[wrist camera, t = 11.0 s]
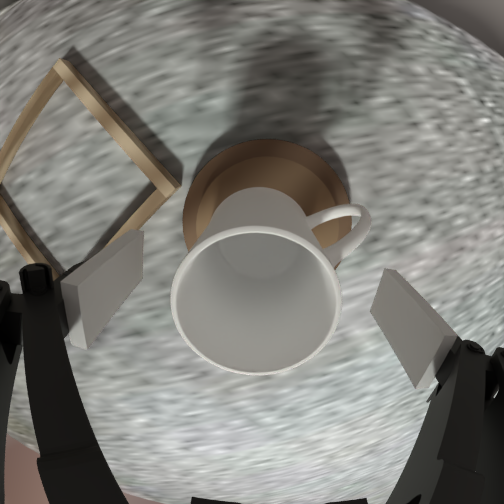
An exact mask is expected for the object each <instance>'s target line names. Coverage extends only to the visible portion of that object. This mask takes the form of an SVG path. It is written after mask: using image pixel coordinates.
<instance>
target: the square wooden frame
mask: <svg viewBox="0 0 504 504" xmlns="http://www.w3.org/2000/svg"><path fill="white" fill-rule="evenodd" d="M63 80H64V81H65V82H66V84H67V85H68V86H69V87H70V88H71V90H72V91H73V92H74V93H75V94H76V96H77V97H78V98H79V99H80V100H81V102H82V103H83V104H84V105H85V106H86V107H87V109H88V110H89V111H90V112H91V113H92V114H93V116H94V117H95V118H96V119H97V120H98V121H99V123H100V124H101V125H102V126H103V127H104V128H105V130H106V131H107V132H108V133H109V134H110V135H111V136H112V138H113V139H114V140H115V141H116V142H117V143H118V144H119V146H120V147H121V148H122V149H123V150H124V151H125V152H126V154H127V155H128V156H129V157H130V158H131V159H132V160H133V162H134V163H135V164H136V165H137V166H138V167H139V168H140V169H141V171H142V172H143V173H144V174H145V175H146V176H147V177H148V178H149V179H150V181H151V182H152V183H153V184H154V185H155V186H156V187H157V189H156V190H155V191H154V192H153V193H152V194H151V195H150V196H149V198H148V199H147V200H146V201H145V202H144V203H143V204H142V205H141V206H140V207H139V208H138V209H137V210H136V212H135V213H134V214H133V215H132V216H131V217H130V218H129V219H128V220H127V222H126V223H125V224H124V225H123V226H122V227H121V228H120V230H119V231H118V232H117V233H116V234H115V235H114V236H113V238H112V239H111V240H110V241H109V242H108V244H107V245H106V246H108V245H109V244H111V243H112V242H113V241H115V240H116V239H118V238H119V237H120V236H122V235H123V234H125V233H126V232H128V231H129V230H130V229H133V230H139V229H140V228H141V227H142V226H143V225H144V224H145V222H146V221H147V220H148V219H149V218H150V217H151V216H152V215H153V214H154V213H155V212H156V211H157V210H158V209H159V208H160V207H161V206H162V205H163V204H164V203H165V202H166V201H167V200H168V199H169V198H170V197H171V196H172V195H173V194H174V193H175V192H176V191H177V190H178V189H179V188H180V187H181V185H180V184H179V183H178V182H177V181H176V180H175V178H174V177H173V176H172V175H171V174H170V173H169V172H168V171H167V170H166V169H165V167H164V166H163V165H162V164H161V163H160V162H159V161H158V160H157V159H156V158H155V156H154V155H153V154H152V153H151V152H150V151H149V150H148V149H147V148H146V146H145V145H144V144H143V143H142V142H141V141H140V140H139V139H138V138H137V137H136V135H135V134H134V133H133V132H132V131H131V130H130V129H129V128H128V127H127V125H126V124H125V123H124V122H123V121H122V120H121V119H120V118H119V117H118V115H117V114H116V113H115V112H114V111H113V110H112V109H111V108H110V107H109V105H108V104H107V103H106V102H105V101H104V100H103V99H102V98H101V96H100V95H99V94H98V93H97V92H96V91H95V90H94V89H93V87H92V86H91V85H90V84H89V83H88V82H87V81H86V80H85V79H84V77H83V76H82V75H81V74H80V73H79V72H78V71H77V70H76V68H75V67H74V66H73V65H72V64H71V63H70V62H69V61H66V60H63V59H60V58H59V60H58V61H57V62H56V63H55V65H54V66H53V67H52V69H51V70H50V71H49V72H48V74H47V75H46V77H45V78H44V79H43V81H42V82H41V84H40V85H39V86H38V88H37V89H36V91H35V92H34V94H33V95H32V97H31V98H30V100H29V101H28V103H27V105H26V106H25V108H24V109H23V111H22V113H21V114H20V116H19V118H18V119H17V121H16V123H15V125H14V126H13V128H12V130H11V132H10V134H9V135H8V137H7V139H6V141H5V143H4V145H3V147H2V149H1V151H0V184H1V182H2V180H3V178H4V176H5V174H6V172H7V170H8V168H9V166H10V164H11V162H12V160H13V158H14V156H15V154H16V152H17V150H18V149H19V147H20V145H21V143H22V142H23V140H24V138H25V136H26V135H27V133H28V131H29V130H30V128H31V126H32V125H33V123H34V122H35V120H36V118H37V117H38V115H39V114H40V112H41V111H42V109H43V108H44V106H45V105H46V103H47V102H48V101H49V99H50V98H51V96H52V95H53V94H54V92H55V91H56V89H57V88H58V87H59V85H60V84H61V83H62V82H63ZM0 224H1V226H2V227H3V229H4V230H5V232H6V233H7V235H8V236H9V238H10V239H11V241H12V242H13V244H14V245H15V247H16V248H17V249H18V251H19V252H20V254H21V255H22V256H23V258H24V259H25V260H26V262H27V263H28V264H32V263H46V264H48V265H50V263H49V262H48V261H47V260H46V258H45V257H44V256H43V255H42V253H41V252H40V251H39V249H38V248H37V247H36V245H35V244H34V243H33V241H32V240H31V239H30V237H29V236H28V235H27V233H26V232H25V230H24V229H23V228H22V226H21V225H20V223H19V222H18V220H17V219H16V217H15V216H14V215H13V213H12V212H11V210H10V208H9V207H8V205H7V204H6V202H5V201H4V199H3V198H2V196H1V194H0ZM106 246H105V247H106ZM105 247H104V248H105ZM104 248H103V249H104ZM50 266H51V265H50ZM51 268H52V276H53V281H54V280H55V279H57V278H58V277H59V276H60V275H59V274H58V273H57V272H56V271H55V269H54V268H53V267H52V266H51Z"/></svg>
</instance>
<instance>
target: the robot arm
mask: <svg viewBox="0 0 504 504" xmlns="http://www.w3.org/2000/svg"><path fill="white" fill-rule="evenodd" d="M143 240H144V231H140V230H133V229H130V230H129V231H128V232H126V233H125V234H123V235H122V236H120V237H119V238H118V239H116V240H115V241H113V242H112V243H111V244H109V245H108V246H106V247H105V248H104V249H102V250H101V251H100V252H98V253H97V254H96V255H94V256H93V257H92V258H90V259H89V260H88V261H86V262H81V263H79V264H76V265H74V266H72V267H71V268H70V269H68V271H66V272H64V273H63V275H61V276H59V277H58V278H57V279H55V280H54V281H53V276H52V268H51V266H50V265H48V264H46V263H32V264H29V265H26V266H24V267H23V268H21V269H20V271H19V275H20V281H21V286H22V291H23V294H14V293H11V292H10V287H9V284H8V283H7V282H6V281H1V280H0V504H4V461H5V444H6V433H7V424H8V416H9V409H10V402H11V396H12V391H13V386H14V381H15V376H16V371H17V367H18V362H19V358H20V354H21V350H22V347H23V351H24V364H25V374H26V383H27V391H28V397H29V404H30V410H31V415H32V420H33V425H34V430H35V434H36V438H37V443H38V447H39V451H40V458H37V466H38V471H39V474H40V477H41V480H42V484H43V487H44V490H45V493H46V495H47V498H48V501H49V504H129V503H128V501H127V500H126V498H125V496H124V495H123V493H122V491H121V489H120V487H119V485H118V483H117V482H116V480H115V478H114V476H113V474H112V472H111V470H110V468H109V466H108V464H107V462H106V460H105V458H104V455H103V453H102V451H101V449H100V447H99V444H98V442H97V440H96V437H95V435H94V432H93V430H92V428H91V425H90V422H89V420H88V417H87V415H86V412H85V409H84V406H83V403H82V401H81V398H80V395H79V392H78V389H77V385H76V382H75V379H74V376H73V372H72V369H71V365H70V362H69V358H68V354H67V350H66V346H65V342H64V338H65V337H66V336H67V334H68V333H69V336H70V340H71V345H74V346H77V347H80V348H83V349H86V350H88V349H89V347H90V346H91V345H92V343H93V342H94V341H95V339H96V338H97V336H98V335H99V334H100V332H101V331H102V330H103V328H104V327H105V326H106V325H107V323H108V322H109V321H110V319H111V318H112V317H113V315H114V314H115V313H116V312H117V310H118V309H119V308H120V306H121V305H122V304H123V303H124V301H125V300H126V299H127V298H128V296H129V295H130V294H131V292H132V291H133V290H134V289H135V288H136V286H137V285H138V284H139V283H140V281H141V280H142V279H143ZM370 312H371V314H372V315H373V317H374V319H375V320H376V322H377V324H378V325H379V327H380V328H381V330H382V332H383V333H384V335H385V337H386V338H387V340H388V342H389V344H390V345H391V347H392V349H393V350H394V352H395V354H396V355H397V357H398V359H399V361H400V362H401V364H402V366H403V368H404V369H405V371H406V373H407V375H408V377H409V378H410V380H411V382H412V384H413V386H414V388H415V389H421V388H429V386H430V385H431V383H432V381H433V380H434V378H435V377H436V379H437V380H438V382H439V383H438V384H437V386H436V388H435V389H434V391H433V392H432V394H431V395H430V397H429V398H428V400H427V401H426V402H429V401H430V400H431V402H430V405H429V408H428V411H427V414H426V417H425V419H424V422H423V425H422V428H421V430H420V433H419V435H418V438H417V440H416V443H415V445H414V448H413V450H412V452H411V455H410V457H409V459H408V461H407V463H406V466H405V468H404V470H403V472H402V474H401V476H400V478H399V480H398V482H397V484H396V486H395V488H394V490H393V492H392V493H391V495H390V497H389V499H388V501H387V502H386V504H504V348H502V347H498V348H496V350H495V352H494V354H493V355H492V356H488V355H485V351H484V349H483V348H482V347H481V346H480V345H479V344H477V343H476V342H473V341H470V340H463V341H462V340H461V339H460V337H459V336H458V335H457V334H456V333H455V332H454V331H453V329H452V328H451V327H450V326H449V325H448V324H447V323H446V322H445V321H444V319H443V318H442V317H441V316H440V315H439V314H438V313H437V312H436V311H435V310H434V309H433V308H432V307H431V306H430V304H429V303H428V302H427V301H426V300H425V299H424V298H423V297H422V296H421V295H420V294H419V293H418V292H417V291H416V290H415V289H414V288H413V287H412V286H411V285H410V284H409V283H408V282H407V281H406V280H405V279H404V278H403V277H402V276H401V275H400V274H399V273H398V272H397V271H396V270H392V269H386V268H384V271H383V275H382V278H381V281H380V284H379V287H378V290H377V293H376V296H375V298H374V301H373V304H372V307H371V310H370ZM497 391H498V393H497ZM496 393H497V395H496V397H495V398H494V395H495V394H496ZM475 471H476V472H475ZM191 504H241V503H236V502H226V501H217V500H210V499H203V498H197V497H192V499H191ZM326 504H368V503H367V498H363V499H356V500H349V501H340V502H330V503H326Z"/></svg>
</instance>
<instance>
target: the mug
mask: <svg viewBox="0 0 504 504" xmlns="http://www.w3.org/2000/svg"><path fill="white" fill-rule="evenodd" d="M350 215H356V216H361V218H360V220H359V222H358V223H357V225H356V226H355V227H354V228H353V229H352V230H351V231H350V232H349V233H348V234H347V235H346V236H344V237H343V238H342V239H340V240H339V241H337V242H336V243H334V244H332V245H331V246H328V247H326V248H324V249H322V247H321V245H320V244H319V242H318V240H317V239H316V237H315V235H314V234H313V232H312V230H311V229H313V228H314V227H315V226H317V225H319V224H321V223H323V222H326V221H329V220H331V219H335V218H338V217H343V216H350ZM370 228H371V216H370V214H369V212H368V210H367V209H366V208H365V207H363V206H362V205H359V204H343V205H338V206H334V207H331V208H328V209H325V210H322V211H320V212H317V213H315V214H312V215H310V216H307V217H306V215H305V213H304V212H303V210H302V209H301V207H300V206H299V205H298V204H297V203H296V202H295V201H294V200H293V199H292V198H291V197H289V196H288V195H286V194H284V193H283V192H280V191H278V190H275V189H271V188H266V187H252V188H247V189H243V190H240V191H238V192H236V193H234V194H232V195H230V196H229V197H227V198H226V199H225V200H224V201H223V202H222V203H221V204H220V205H219V206H218V207H217V209H216V210H215V212H214V214H213V216H212V218H211V220H210V223H209V225H208V226H207V227H206V229H205V230H204V231H203V233H202V234H201V236H200V237H199V238H198V240H197V241H196V242H195V244H194V245H193V247H192V248H191V249H190V251H189V252H188V254H187V255H186V256H185V258H184V259H183V261H182V262H181V264H180V266H179V268H178V270H177V272H176V274H175V277H174V280H173V283H172V288H171V310H172V315H173V319H174V322H175V324H176V327H177V329H178V331H179V333H180V334H181V336H182V337H183V339H184V340H185V342H186V343H187V344H188V345H189V346H190V347H191V349H192V350H193V351H195V352H196V353H197V354H198V355H199V356H201V357H202V358H203V359H205V360H206V361H208V362H209V363H211V364H213V365H215V366H217V367H219V368H222V369H224V370H227V371H231V372H234V373H239V374H245V375H269V374H275V373H280V372H284V371H287V370H290V369H292V368H295V367H297V366H299V365H301V364H303V363H305V362H306V361H308V360H309V359H311V358H312V357H313V356H315V355H316V354H317V353H318V352H319V351H320V350H321V349H322V348H323V347H324V346H325V345H326V344H327V342H328V341H329V340H330V338H331V337H332V335H333V333H334V331H335V329H336V327H337V325H338V322H339V319H340V315H341V309H342V293H341V287H340V283H339V279H338V277H337V274H336V272H335V270H334V267H335V266H336V265H337V264H338V263H339V262H340V261H341V260H343V259H344V258H345V257H346V256H348V255H349V254H350V253H351V252H352V251H354V250H355V249H356V248H357V247H358V246H359V245H360V244H361V243H362V241H363V240H364V239H365V237H366V236H367V234H368V233H369V230H370Z"/></svg>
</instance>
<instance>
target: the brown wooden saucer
mask: <svg viewBox="0 0 504 504" xmlns="http://www.w3.org/2000/svg"><path fill="white" fill-rule="evenodd" d="M252 187H266V188H271V189H275V190H278V191H280V192H283V193H284V194H286V195H288V196H289V197H291V198H292V199H293V200H294V201H295V202H296V203H297V204H298V205H299V206H300V207H301V209H302V210H303V212H304V213H305V215H306V217H307V216H310V215H312V214H315V213H317V212H320V211H322V210H325V209H328V208H331V207H334V206H338V205H343V204H350V203H349V199H348V196H347V193H346V190H345V188H344V186H343V184H342V182H341V180H340V179H339V177H338V176H337V174H336V173H335V171H334V170H333V169H332V168H331V167H330V166H329V165H328V164H327V163H326V162H325V161H324V160H323V159H322V158H320V157H319V156H318V155H316V154H315V153H313V152H312V151H310V150H309V149H306V148H304V147H302V146H300V145H298V144H294V143H291V142H288V141H282V140H276V139H259V140H251V141H247V142H243V143H240V144H237V145H235V146H232V147H230V148H228V149H226V150H224V151H223V152H221V153H219V154H218V155H217V156H215V157H214V158H213V159H212V160H210V161H209V162H208V163H207V164H206V165H205V166H204V167H203V168H202V169H201V171H200V172H199V174H198V175H197V176H196V178H195V179H194V181H193V183H192V185H191V187H190V189H189V191H188V194H187V197H186V200H185V205H184V209H183V233H184V238H185V243H186V246H187V249H188V251H190V249H191V248H192V247H193V245H194V244H195V242H196V241H197V240H198V238H199V237H200V236H201V234H202V233H203V231H204V230H205V229H206V227H207V226H208V225H209V223H210V220H211V218H212V216H213V214H214V212H215V210H216V209H217V207H218V206H219V205H220V204H221V203H222V202H223V201H224V200H225V199H226V198H227V197H229V196H230V195H232V194H234V193H236V192H238V191H240V190H243V189H247V188H252ZM351 226H352V218H351V215H350V216H343V217H338V218H335V219H331V220H329V221H326V222H323V223H321V224H319V225H317V226H315V227H314V228H313V229H311V230H312V232H313V234H314V235H315V237H316V239H317V240H318V242H319V244H320V245H321V247H322V249H324V248H326V247H328V246H331V245H332V244H334V243H336V242H337V241H339V240H340V239H342V238H343V237H344V236H346V235H347V234H348V233H349V232H350V231H351ZM340 262H341V261H340ZM340 262H339V263H338V264H337V265H336V266H335V267H334V270H335V269H336V268H337V267H338V265H339V264H340Z"/></svg>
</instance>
